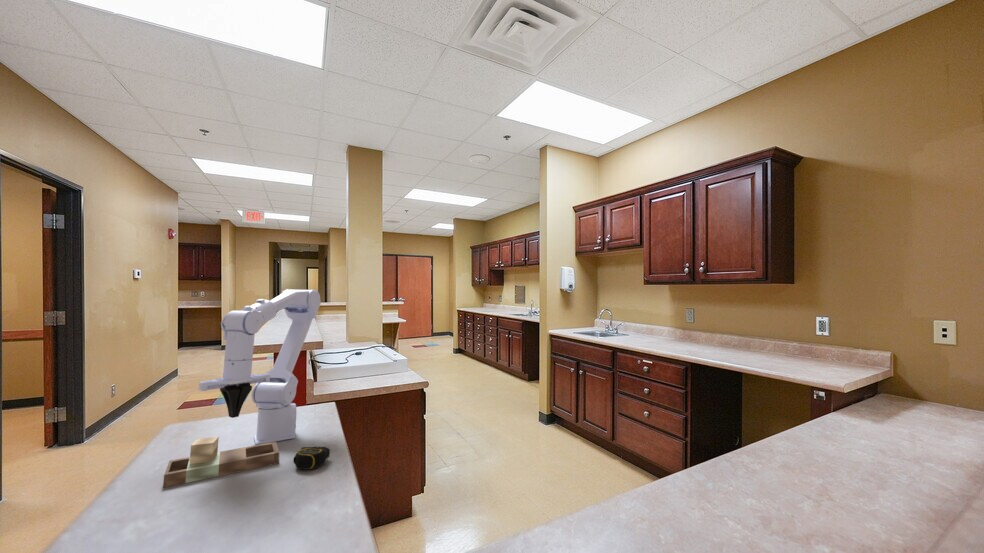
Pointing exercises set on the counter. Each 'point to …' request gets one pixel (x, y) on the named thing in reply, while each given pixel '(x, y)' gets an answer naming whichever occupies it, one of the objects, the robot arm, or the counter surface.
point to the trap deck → (221, 464)
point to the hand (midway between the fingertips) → (233, 416)
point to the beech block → (204, 450)
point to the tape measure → (311, 457)
